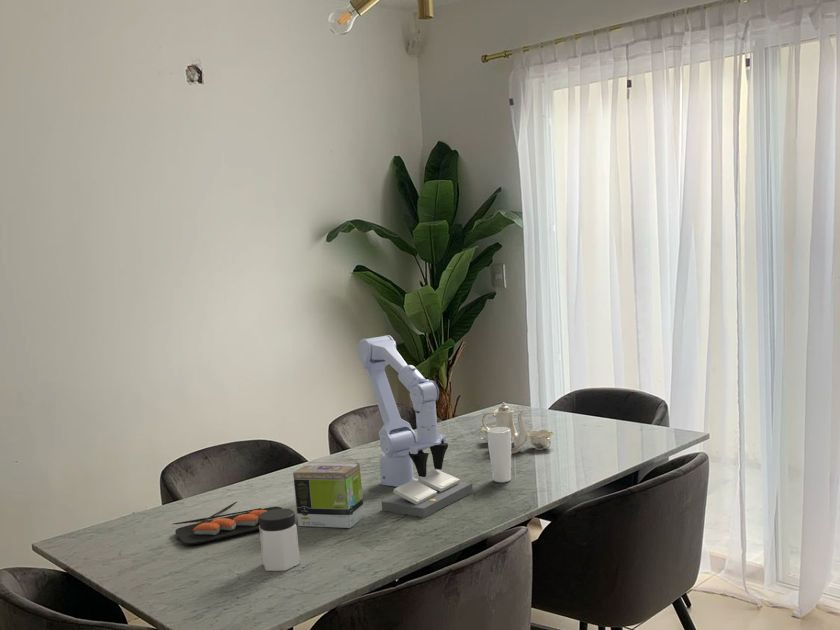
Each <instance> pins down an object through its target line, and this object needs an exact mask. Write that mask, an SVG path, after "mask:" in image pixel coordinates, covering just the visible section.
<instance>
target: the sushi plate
mask: <svg viewBox="0 0 840 630" xmlns="http://www.w3.org/2000/svg"><path fill="white" fill-rule="evenodd" d="M237 503H238V501H234V502H232V503H230V504H229V505H228V506H226V507H224V508H222V509H221V510H219V511H218V512H216V513H214V514H212V515H211V516H209V517H203V518H197V519H190V520H187V521H186V520H185V521H181V522H173V525H181V524H186V523H187V524H188V523H190V524H188V525H185V526H180V527H178V528H176V529H175V536H177V539H179V540H180V542H181V543H182V544H184V545H187V546H189V545H197V544H202V543H207V542H211V541H214V540H215V541H216V540H219V539H224V538H228V537H232V536H237V535H241V534H246V533H250V532H253V531H254V532H255V531H258V530H259V515H260V514H262V513H263V512H266V511H269V510H273V509H284V508H283V507H280V506H269V507H264V508H261V507H260V508H254V509H249V510H242V511H238V512H232V513H225V514H221V513H223V512H225V511H226V510H228V509H231V508H232V507H233V506H234V505H235V504H237ZM219 514H220V515H219ZM191 523H192V524H191ZM259 531H260V530H259Z"/></svg>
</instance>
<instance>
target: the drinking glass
mask: <svg viewBox="0 0 840 630" xmlns="http://www.w3.org/2000/svg"><path fill="white" fill-rule="evenodd" d="M487 436H488V442H487V447H488V452H489V461H490V467H491V472H492V473H491V474H492V480H493V481H494V482H496V483H507V482H508V483H509V482H510V481H511V480H512V470H511V469H512V454H511V431H510V429H509V428H507V427H495V428H490V429H488V430H487Z"/></svg>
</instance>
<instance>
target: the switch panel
mask: <svg viewBox="0 0 840 630" xmlns="http://www.w3.org/2000/svg"><path fill="white" fill-rule="evenodd" d="M425 486H427V485H425ZM427 487H429V486H427ZM429 488H431V487H429ZM473 488H474V487H473V482H468V481H467V482H465V481H460V483H458V484H456V485H454V486H452V487H450V488H448V489H446V490H444V491H442V492H440V491H438V490H436V489H433V488H431V489H433V490H435V491H437V495H435V496H433V497H431V498H429V499H427V500H426V501H424V502H422V503H420V504H418V505H416V504H414V503H412V502H410V501H408V500H406V499H405V498H403V497H401V496H399V495H397V494H394V495H391V496H390V497H388V498H386V499H383V500H381V510H382V511H385V512H390V513H394V514H395V513H396V514H400V513H401V515H405V514H408V515H407V516H411V515H412V516H411V517H416V516H419V517H418V518H422V517H424V518H423V519H425V518H426V516H427V517H428V516H430V514H431V515H433V514H434V513H436V512H438V511H439V509H440V510H441V508H442V509H444V508H446V507H447V505H448V506H450V505H451V504H454V503H455V502H457V501H459V500H460V498H461V499H462V498H464V497H466V496H468V495H469V493H470V494H472V493H473V491H474V490H473ZM471 492H472V493H471ZM467 494H468V495H467ZM458 499H459V500H458ZM454 501H455V502H454ZM445 506H446V507H445ZM443 507H444V508H443ZM437 510H438V511H437ZM432 513H433V514H432Z"/></svg>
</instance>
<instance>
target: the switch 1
mask: <svg viewBox="0 0 840 630" xmlns="http://www.w3.org/2000/svg"><path fill="white" fill-rule="evenodd" d="M393 494H394V495H396V494H397V495H399V496H401V497H403V498H405V499H406V500H408V501H410V502H412V503H414V504H416V505H418V504H420V503H422V502H424V501H426V500H427V499H429V498H431V497H433V496H435V495H437V491H435V490H433V489H431V488H429V487H427V486H425V485H424V484H422V483H420V482H418V481H416V480H412V481H410V482H408V483H406V484H403V485H401V486H399V487H395V488H393Z"/></svg>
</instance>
